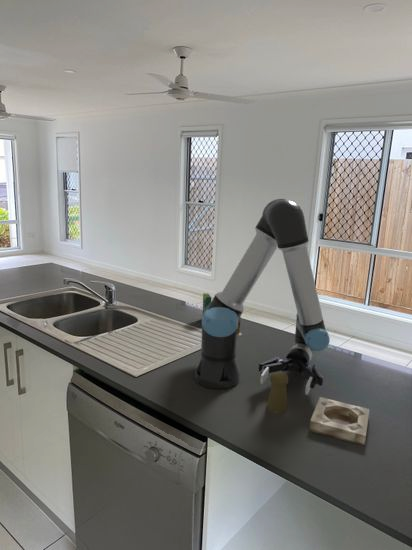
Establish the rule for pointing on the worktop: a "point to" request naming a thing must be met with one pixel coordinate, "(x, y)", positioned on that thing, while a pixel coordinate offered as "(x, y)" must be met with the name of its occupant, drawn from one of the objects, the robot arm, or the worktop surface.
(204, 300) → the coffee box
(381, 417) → the worktop surface
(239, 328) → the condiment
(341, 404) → the holder block
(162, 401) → the worktop surface
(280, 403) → the olive green peg
